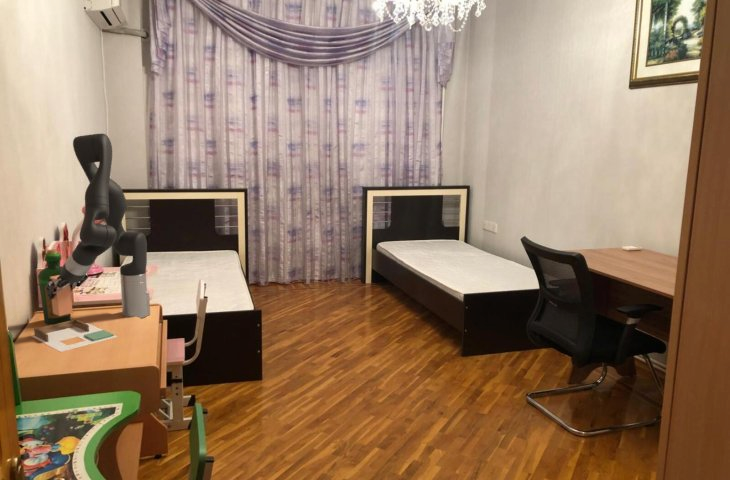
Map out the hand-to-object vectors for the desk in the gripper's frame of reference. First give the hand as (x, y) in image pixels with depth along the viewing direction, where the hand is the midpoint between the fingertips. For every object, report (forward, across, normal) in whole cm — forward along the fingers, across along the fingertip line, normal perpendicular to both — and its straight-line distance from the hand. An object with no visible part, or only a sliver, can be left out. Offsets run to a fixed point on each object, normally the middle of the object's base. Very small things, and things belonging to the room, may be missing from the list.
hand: (58, 295), depth 196 cm
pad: (0, -4, +20) cm, 20 cm away
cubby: (+9, 0, +11) cm, 14 cm away
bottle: (+20, -7, +2) cm, 21 cm away
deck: (+6, 0, +16) cm, 16 cm away
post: (+3, 0, +6) cm, 6 cm away
